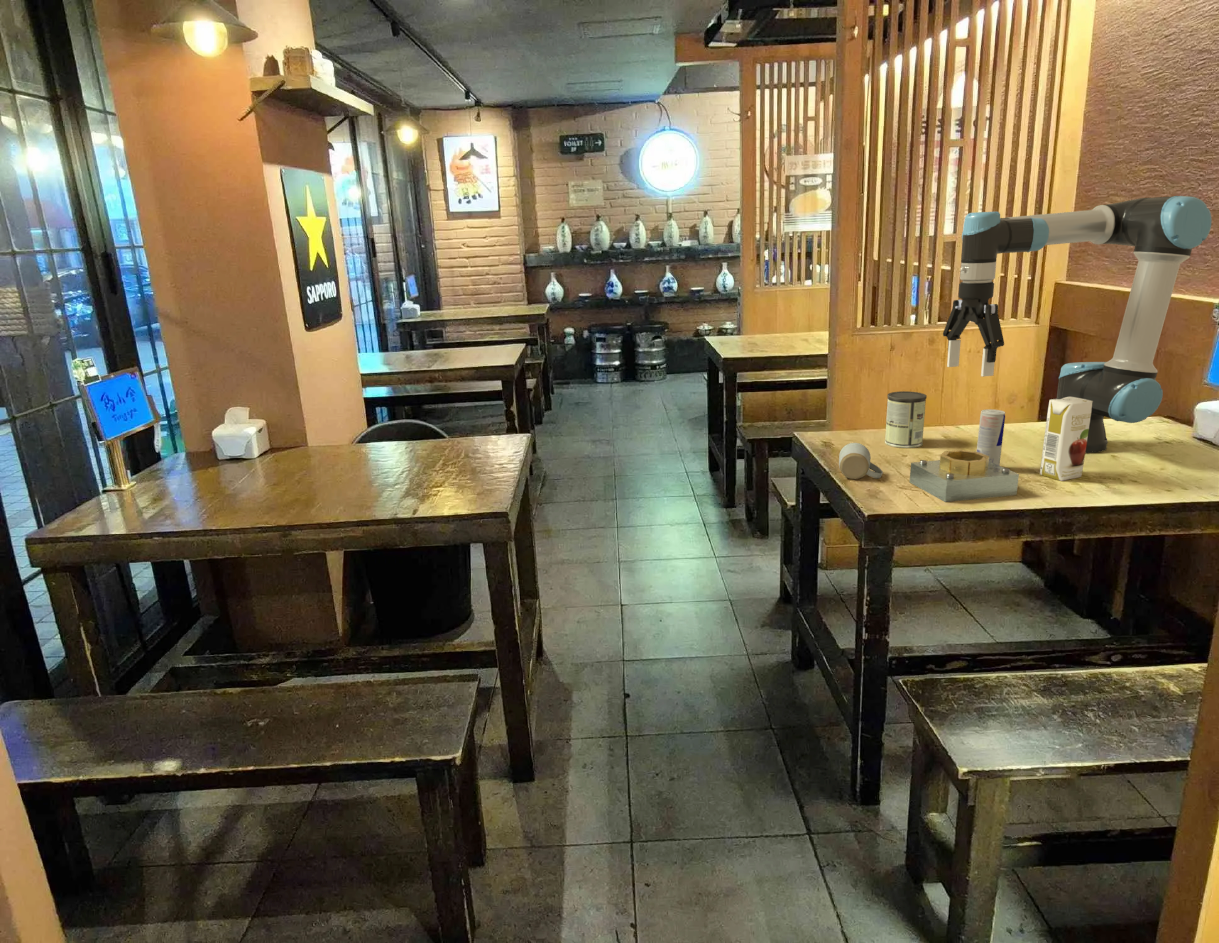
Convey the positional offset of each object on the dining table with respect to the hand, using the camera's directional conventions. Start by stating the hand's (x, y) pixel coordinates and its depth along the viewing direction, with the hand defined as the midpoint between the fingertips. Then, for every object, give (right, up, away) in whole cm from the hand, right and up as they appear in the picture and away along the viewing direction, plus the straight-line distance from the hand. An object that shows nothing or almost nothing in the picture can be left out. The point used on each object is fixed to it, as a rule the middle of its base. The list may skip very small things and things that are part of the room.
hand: (969, 371), depth 195 cm
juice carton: (+23, -26, +3) cm, 35 cm away
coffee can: (-3, -16, +35) cm, 39 cm away
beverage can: (+9, -24, +10) cm, 27 cm away
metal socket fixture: (-4, -28, -4) cm, 29 cm away
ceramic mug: (-24, -26, +8) cm, 36 cm away
